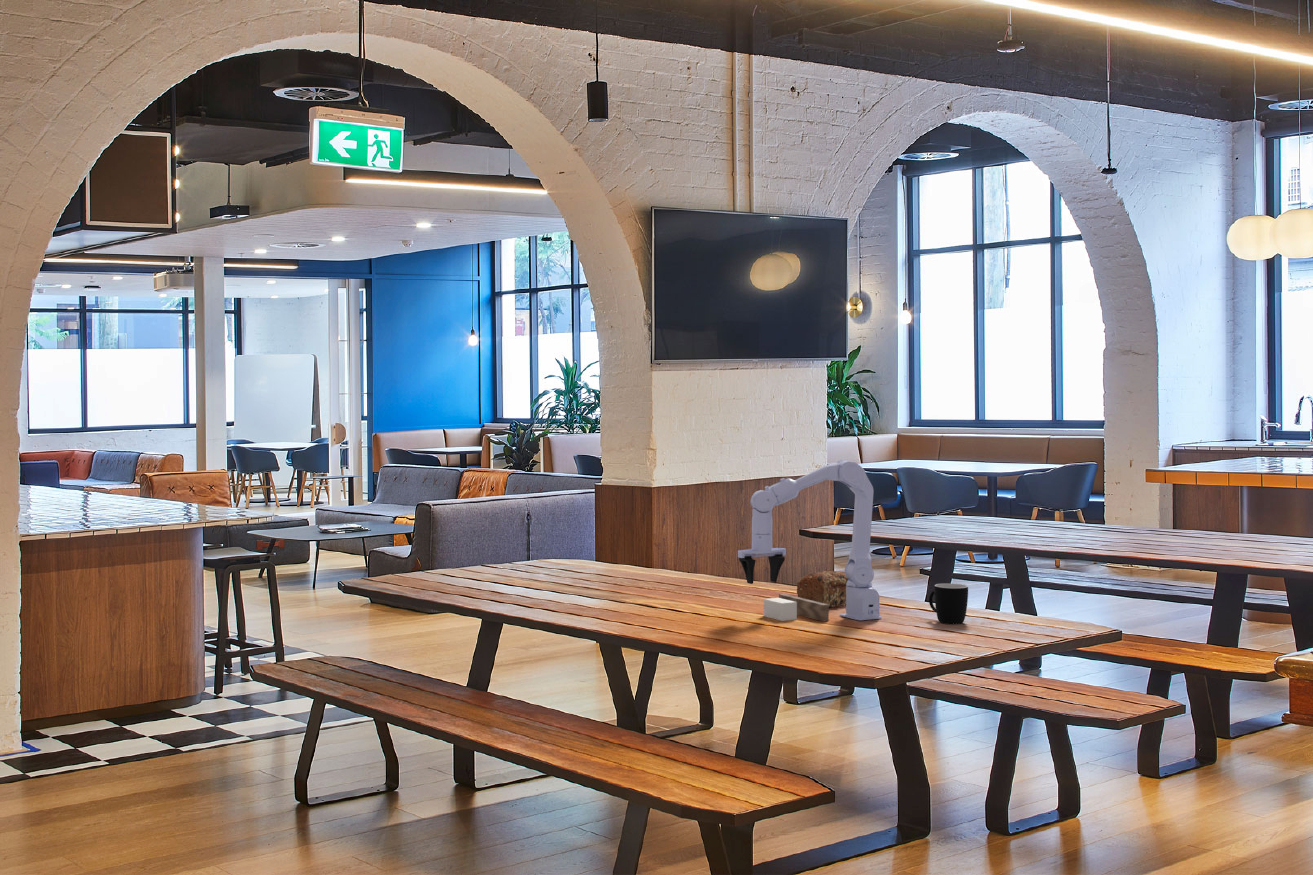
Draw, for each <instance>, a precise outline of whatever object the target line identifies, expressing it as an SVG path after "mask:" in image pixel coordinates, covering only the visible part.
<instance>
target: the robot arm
mask: <svg viewBox="0 0 1313 875" xmlns="http://www.w3.org/2000/svg"><path fill="white" fill-rule="evenodd" d="M825 481H833V482H834V481H835V482H840V483H842V484H844V485H845V486H847V487H848V488H849V490H850V491H851V492H852V493H853V494H854V506H853V507H854V509H853V521H852V523H853V524H852V536H851V537H852V538H851V549H850V553H849V554H848V561H847V563H846V565H845V568H844V572H845V575H846V577H847V578H848V579H849V580H848V582H847V583H846V605H845V613H839V616H840V617H842V618H848V619H851V620H854V621H855V620H856V621H868V620H870V621H871V620H879V619H883V616H880V594H879V591H878V590H876V589H874V588H873V583H872V582H873V580H874V576H875V572H874V569H873V567H872V556H871V553H870V552H871V551H870V550H871V535H872V533H871V532H872V519H873V503H874V486H873V484H872V482H871V481H870V479H869V477H868V475H867V473H866V470H865V469H864V468H863V467H862V466H861V465H860V464H859V463H857V462H856V461H853V460H848V459H840V460H838V461H836V462H832V463H829V464H826V465H823V466H822V467H819V468H818V469H815V470H813V471H811V472H809V473H807V474H805V475H803V476H800V477H798V478H797V479H795V480H794V479H792V478H790V477H788V478H786V477H785V478H784V477H782V478H780V479H779V481H778V482H777V483H774V484H772V485H770V486H769V485H766V486H764V490H762V489H760V490H757V491H755V492H754V493H753V494H752V495H751V497H750V498H751V499H750V500H749V502H750V506H751V507H752V511H751V513H752V517H751V548H748V549H743V550H742V549H740V550H737V558H738V561H739V562H740V564H741V567H742V568H743V571H744V575H745V578H746V584H750V585H753V584H754V578H755V577H754V574H755V572H754V570H755V565H756V559H753V558H758V557H768V558H767V559H768V563H769V571H770V572H769V576H770V577H769V580H770V582H772V583H777V582H778V577H779V573H780V570H781V568H782V566H783V564H784V562H785V561H786V560H785V559H786V555H787V548H783V547H776V548H775V547H773V519H774V518H773V509H774V508H775V506H776V507H778V506H779V505H782V504H785V503H787V502H789V501H790V500H793V499H796V498H798V496H799V493H800V491H802V490H804V489H807V488H809V487H811V486H815V485H817V484H819V483H822V482H825Z"/></svg>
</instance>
